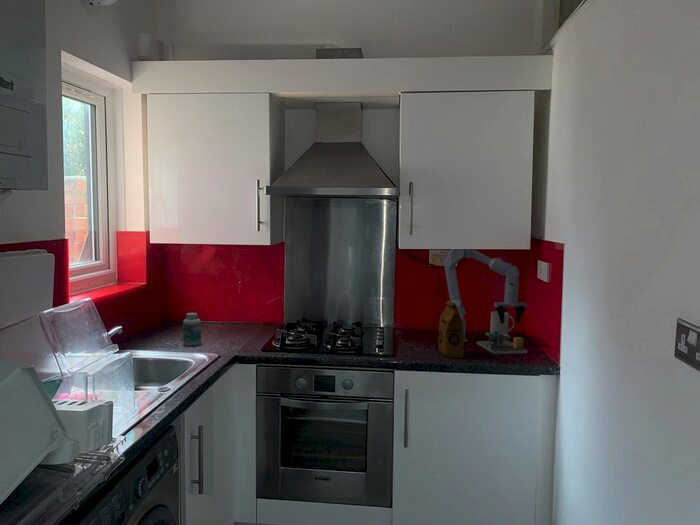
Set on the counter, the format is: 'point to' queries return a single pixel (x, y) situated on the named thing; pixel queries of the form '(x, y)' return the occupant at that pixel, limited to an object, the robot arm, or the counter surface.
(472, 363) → the counter surface
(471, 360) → the counter surface
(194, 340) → the pill bottle
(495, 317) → the mug
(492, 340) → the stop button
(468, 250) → the robot arm
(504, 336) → the teal tile with stripe
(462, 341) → the coffee package
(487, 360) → the counter surface
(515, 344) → the slider knob
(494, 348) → the panel
